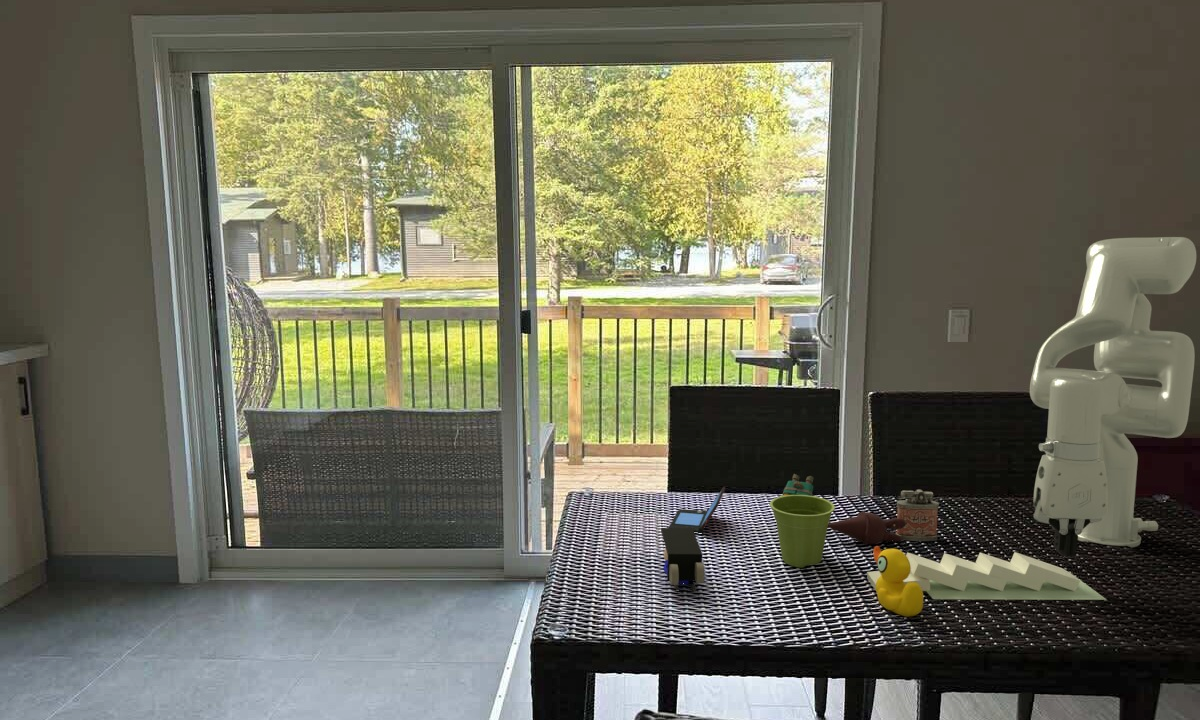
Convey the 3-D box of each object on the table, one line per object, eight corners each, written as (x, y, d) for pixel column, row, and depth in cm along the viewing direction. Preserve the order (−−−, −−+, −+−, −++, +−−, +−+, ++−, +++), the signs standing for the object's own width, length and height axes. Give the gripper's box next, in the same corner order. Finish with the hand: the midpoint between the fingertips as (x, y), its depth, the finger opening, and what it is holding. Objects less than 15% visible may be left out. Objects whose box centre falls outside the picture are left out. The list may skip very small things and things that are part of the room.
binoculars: (777, 525, 168) (770, 497, 162) (788, 495, 173) (781, 466, 168) (818, 532, 163) (812, 503, 157) (828, 501, 169) (822, 472, 163)
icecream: (834, 521, 146) (913, 528, 145) (826, 500, 153) (901, 506, 152) (828, 551, 149) (905, 558, 148) (820, 528, 155) (894, 535, 155)
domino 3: (992, 568, 132) (944, 553, 132) (1007, 580, 127) (956, 564, 127) (988, 578, 132) (940, 563, 132) (1002, 591, 127) (952, 575, 127)
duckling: (859, 597, 128) (861, 541, 126) (887, 593, 129) (889, 537, 128) (902, 628, 117) (904, 567, 115) (932, 623, 118) (934, 563, 117)
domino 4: (1028, 568, 131) (979, 552, 131) (1043, 580, 127) (993, 564, 127) (1024, 578, 132) (975, 562, 132) (1039, 591, 127) (988, 574, 127)
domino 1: (918, 567, 132) (866, 572, 133) (929, 579, 127) (875, 584, 128) (919, 578, 133) (867, 582, 133) (930, 590, 128) (876, 595, 128)
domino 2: (955, 568, 132) (907, 552, 132) (968, 580, 127) (918, 563, 127) (951, 578, 132) (903, 562, 132) (963, 591, 127) (913, 574, 127)
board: (1068, 575, 134) (1068, 571, 134) (1106, 604, 124) (1106, 599, 123) (909, 575, 136) (909, 571, 136) (933, 603, 125) (933, 598, 125)
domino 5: (1063, 568, 131) (1014, 552, 131) (1080, 580, 126) (1029, 563, 126) (1058, 578, 131) (1010, 562, 131) (1075, 591, 127) (1024, 574, 126)
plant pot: (772, 546, 151) (773, 492, 149) (834, 553, 147) (836, 497, 145) (765, 569, 140) (766, 511, 138) (831, 577, 136) (833, 517, 134)
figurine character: (708, 604, 130) (692, 559, 144) (709, 564, 128) (693, 523, 142) (669, 605, 129) (657, 561, 144) (669, 565, 127) (658, 524, 142)
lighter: (933, 535, 155) (936, 488, 154) (939, 541, 152) (941, 493, 150) (893, 534, 156) (895, 487, 154) (898, 540, 152) (900, 492, 151)
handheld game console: (678, 513, 171) (678, 482, 170) (725, 517, 168) (725, 485, 167) (667, 533, 160) (666, 499, 159) (718, 537, 156) (718, 503, 155)
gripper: (1038, 456, 122) (1031, 563, 125) (1132, 455, 122) (1124, 563, 124) (1015, 444, 130) (1009, 545, 132) (1104, 443, 129) (1096, 545, 132)
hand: (1065, 553), depth 128 cm, fingers closed
